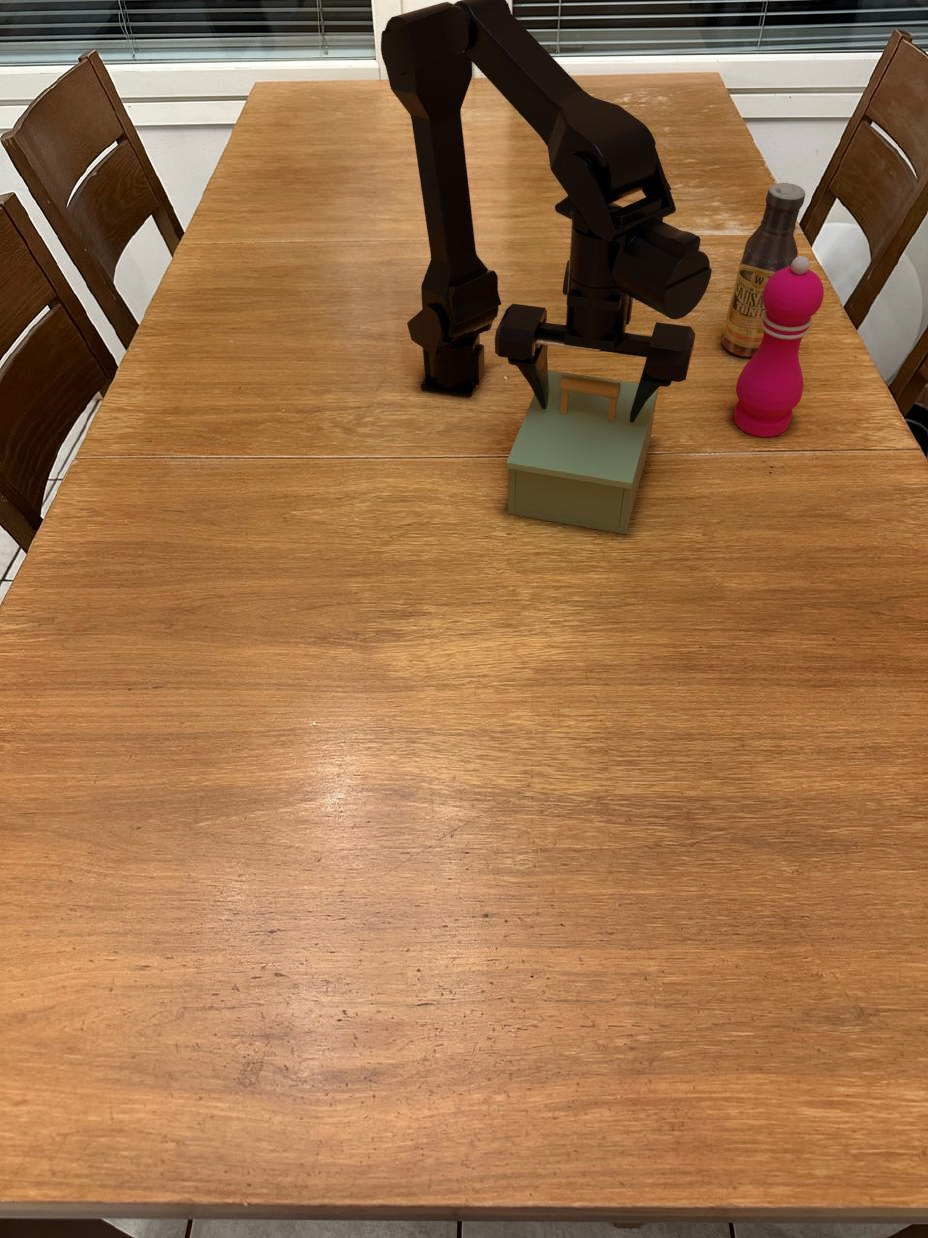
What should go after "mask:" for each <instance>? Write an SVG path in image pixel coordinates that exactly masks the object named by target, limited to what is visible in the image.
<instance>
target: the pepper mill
mask: <svg viewBox="0 0 928 1238" xmlns="http://www.w3.org/2000/svg"><path fill="white" fill-rule="evenodd" d="M810 266H811V262H810V260H809V258H808V257H806V256H804V255H799V256H798V255H797V257H796V258H795V259H794V260H793V261H792V264H791V267H787V268H783V269H781V270H779V271H777V272H776V273H774V274H773V275H772V276H771V277H770V278H769V280H768V281H767V283H766V285H765V287H764V291H763V296H762V300H763V304H764V307H765V309H766V310H765V311H764V312H763V319H762V321H761V327H762V329H763V330H764V334H763V338H762V342H761V344H760V346H759V348H758V350H757V352H756V353H755V354H754V356H753V357H750V359H749V361H748V362H747V363H746V364H745V366H744V367H743V368H742V370H741V372H740V374H739V376H738V378H737V381H736V383H735V394H736V397H737V399H738V400H737V402H736V404H735V409H734V413H733V421H734V423H735V425H736V426H737V427H738V428H739V429H740V430H741V431H743V432H744V433H746V434H749V435H751V436H755V437H764V438H771V437H776V436H778V435H781V434H783V433H784V432H785V431H786V430H787V429H788V428H789V426H790V423H791V419H792V416H793V409H795V408H796V407H797V406H798V404H799V403H800V401H801V399H802V397H803V390H804V375H803V372H802V367H801V365H800V364H801V363H800V359H799V357H800V356H799V351H800V348H801V347H800V346H801V342H802V340H803V337H805V336H806V335H807V334H808V333H809V332H810V330H811V329H810V328H811V324H812V322H813V316H814V315H815V314H816V313H817V312H818V311H819V310H820V308H821V307H822V304H823V301H824V295H825V289H824V284H823V282H822V279H821V277H820V276H819V275H818V274H817V273H815V272H814V271H813V270H811V269H810Z"/></svg>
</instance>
